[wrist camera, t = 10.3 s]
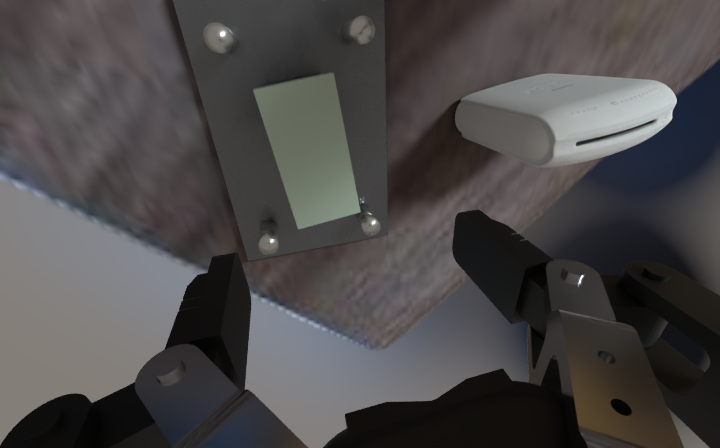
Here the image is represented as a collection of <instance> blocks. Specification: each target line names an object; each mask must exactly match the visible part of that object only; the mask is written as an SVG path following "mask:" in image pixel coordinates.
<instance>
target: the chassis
mask: <svg viewBox="0 0 720 448" xmlns="http://www.w3.org/2000/svg"><path fill="white" fill-rule="evenodd" d="M173 3H174V7H175V10H176V14H177V17H178V21H179V24H180V27H181V31H182V34H183V38H184V41H185V45H186V48H187V52H188V55H189V59H190V62H191V65H192V69H193V72H194V76H195V79H196V83H197V86H198V90H199V93H200V96H201V100H202V103H203V107H204V110H205V114H206V117H207V121H208V124H209V128H210V131H211V134H212V138H213V141H214V145H215V148H216V152H217V155H218V159H219V162H220V165H221V169H222V172H223V176H224V179H225V183H226V186H227V190H228V193H229V197H230V200H231V203H232V207H233V210H234V214H235V217H236V221H237V224H238V228H239V231H240V234H241V238H242V241H243V245H244V248H245V252H246V255H247V259H248V261H252V260H257V259H262V258H268V257H273V256H278V255H284V254H289V253H294V252H300V251H305V250H310V249H316V248H321V247H326V246H332V245H337V244H342V243H348V242H353V241H358V240H364V239H369V238H374V237H380V236H385V235H388V197H387V131H386V65H385V0H173ZM329 72H332V73H334V77H335V82H336V87H337V92H338V98H339V103H340V108H341V113H342V118H343V123H344V129H345V134H346V139H347V144H348V149H349V154H350V160H351V165H352V170H353V175H354V180H355V185H356V191H357V196H358V201H359V206H360V211H361V212H360V213H356V214H353V215H349V216H345V217H342V218H338V219H335V220H331V221H327V222H324V223H320V224H317V225H313V226H309V227H306V228H302V229H299V230H298V228H297V225H296V221H295V218H294V215H293V212H292V209H291V206H290V203H289V200H288V197H287V194H286V191H285V187H284V184H283V181H282V178H281V175H280V172H279V169H278V166H277V163H276V160H275V157H274V153H273V150H272V147H271V144H270V141H269V138H268V135H267V132H266V129H265V126H264V123H263V119H262V116H261V113H260V110H259V107H258V104H257V101H256V98H255V95H254V92H253V89H254V88H258V87H262V86H266V85H271V84H276V83H280V82H285V81H290V80H294V79H299V78H304V77H308V76H313V75H318V74H323V73H324V74H325V73H329Z"/></svg>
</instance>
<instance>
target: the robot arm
mask: <svg viewBox="0 0 720 448" xmlns="http://www.w3.org/2000/svg"><path fill="white" fill-rule="evenodd" d="M452 250H453V255H454V258H455V260H456V262H457V263H458V264H459V266H460V267H461V268H462V269H463V270H464V271H465V272H466V274H467V275H468V276H469V277H470V278H471V279H472V280H473V281H474V283H475V284H476V285H477V286H478V287H479V288H480V289H481V291H482V292H483V293H484V294H485V295H486V296H487V297H488V298H489V300H490V301H491V302H492V303H493V304H494V305H495V306H496V308H497V309H498V310H499V311H500V312H501V313H502V314H503V316H504V317H505V318H506V319H507V320H508V321H509V322H510V323H511V324H514V323H518V322H522V321H527V322H528V324H529V326H528V329H527V347H528V373H529V381H528V383H527V382H519V381H512V380H511V379H510V378H509V376H508V375H507V374H506V372H505V371H504V370H503V369H499V370H496V371H492V372H489V373H485V374H482V375H478V376H475V377H471V378H468V379H466V380H464V381H463V382H461V383H460V384H458V385H457V386H455V387H454V388H452V389H451V390H449V391H448V392H446V393H445V394H443V395H441V396H440V397H438V398H437V399H435V400H432V401H415V402H385V403H382V404H378V405H375V406H371V407H368V408H365V409H361V410H357V411H354V412H350V413H347V414H345V419H346V425H347V428H346V429H345V430H343V431H342V432H340V433H339V434H337V435H336V436H335V437H334V438H333V439H331V440H330V441H329V442H328V443H327V444H326V445H325V446H324V447H323V448H684V447H683V444H682V442H681V439H680V437H679V434H678V432H677V430H676V427H675V424H674V422H673V420H672V417H671V415H670V413H669V410H668V408H669V409H670V410H671V411H672V412H673V413H674V414H675V415H676V416H677V417H678V418H679V419H680V420H682V421H683V422H684V423H685V424H686V425H687V426H688V427H689V428H690V429H691V430H692V431H693V432H694V433H695V434H696V435H697V436H698V437H699V438H700V439H701V440H702V441H703V442H705V443H706V444H707V445H708V446H709V447H710V448H720V296H719V295H718V294H716V293H714V292H712V291H710V290H709V289H707V288H705V287H704V286H702V285H700V284H698V283H696V282H695V281H693V280H691V279H690V278H688V277H686V276H685V275H683V274H681V273H679V272H677V271H676V270H674V269H672V268H670V267H667V266H664V265H662V264H658V263H654V262H650V261H641V260H640V261H638V260H637V261H631V262H629V263H627V264H626V266H625V268H624V270H623V273H622V275H599V274H598V273H597V272H596V271H595V270H593V269H592V268H590V267H589V266H586V265H584V264H582V263H579V262H576V261H571V260H562V259H560V260H553V259H552V258H551V257H549V256H548V255H547V254H545V253H544V252H543V251H541V250H540V249H538V248H537V247H536V246H534V245H533V244H531V243H530V242H529V241H528V240H525V238H524V237H522V236H521V235H519V234H517V232H515V231H514V230H513V229H511V228H510V227H509V226H507V225H505V224H503V223H500V222H498V221H495V220H492V219H491V218H489V217H488V216H487V215H485V214H484V213H483V212H481V211H480V210H472V211H466V212H461V213H458V214H457V216H456V219H455V228H454V237H453V247H452ZM250 313H251V296H250V290H249V287H248V283H247V280H246V277H245V274H244V270H243V267H242V264H241V261H240V258H239V255H238V254H237V253H231V254H225V255H220V256H214V257H212V260H211V263H210V267H209V270H208V273H205V274H200V275H197V277H195V279H194V280H193V281H192V282H191V283H190V284H189V285H188V286H187V288H186V291H185V294H184V297H183V301H182V303H181V305H180V308H179V312H178V314H177V316H176V319H175V322H174V325H173V328H172V330H171V333H170V336H169V339H168V341H167V344H166V347H165V350H163V351H162V352H160V353H158V354H157V355H155V356H154V357H153V358H151V359H150V360H149V361H148V362H147V363H146V364H145V365H144V366H143V368H142V369H141V370H140V372H139V373H138V375H137V378H136V380H135V382H134V383H133V384H130V385H129V386H127V387H125V388H123V389H121V390H119V391H116V392H114V393H112V394H110V395H108V396H106V397H104V398H102V399H100V400H98V401H96V402H93V403H91V402H90V400H89V399H88V398H87V397H86V396H84V395H82V394H68V395H64V396H60V397H58V398H55V399H53V400H51V401H49V402H47V403H45V404H43V405H41V406H40V407H38V408H37V409H35V410H34V411H32V412H31V413H30V414H28V415H27V416H26V417H24V419H22V420H21V421H20V422H19V423H18V424H17V425H16V426H15V427H14V428H13V429H12V431H10V432H9V433H8V435H7V436H6V438H5V439H4V440H3V442H2V444H1V445H0V448H308V447H307V446H306V445H305V444H304V443H303V442H302V441H301V440H300V439H299V438H298V437H297V436H296V435H295V434H294V433H293V432H292V431H291V430H290V429H288V427H287V426H286V425H285V424H284V423H283V422H282V421H281V420H280V419H279V418H278V417H277V416H276V415H275V414H274V413H273V412H272V411H270V409H268V407H266V406H265V405H264V404H263V403H262V402H261V401H260V400H259V399H258V398H257V397H256V396H255V395H254V394H253V393H252V392H250V391H249V390H245V378H246V377H245V376H246V365H247V352H248V340H249V327H250ZM668 322H669V323H670V324H672V325H673V326H674V327H676V328H677V329H678V330H680V331H681V332H683V333H684V334H685V335H687V336H688V337H690V338H691V339H692V340H694V341H695V342H696V343H698V344H699V345H700V346H702V347H703V348H704V349H705V351H706V352H707V353H708V355H709V358H710V361H711V362H710V366H709V368H708V369H707V370H706V372H703V371H702V370H701V369H699V368H698V367H697V366H696V365H695V364H693V363H692V362H691V361H689V360H688V359H687V358H686V357H684V356H683V355H682V354H680V353H679V352H678V351H677V350H675V349H674V348H673V347H672V346H670V345H669V344H668V343H667V342H665V341H664V340H663V339H661V338H660V337H659V336H660V335H661V332H662V331H663V330H664V328H665V326H666V325H667V323H668ZM244 390H245V391H244Z"/></svg>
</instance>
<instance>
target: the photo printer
mask: <svg viewBox="0 0 720 448" xmlns="http://www.w3.org/2000/svg"><path fill="white" fill-rule="evenodd" d="M676 103H677V100H676V97H675V94H674V93H673V91H672V90H671V89H670V88H669V87H668V86H666V85H665V84H663V83H661V82H658V81H654V80H645V79H630V78H616V77H600V76H584V75H567V74H541V75H536V76H531V77H527V78H523V79H519V80H515V81H511V82H508V83H504V84H501V85H497V86H494V87H491V88H488V89H484V90H481V91H478V92H475V93H472V94H470V95H468V96H465V97H464V98H462V99H461V103H459V104H458V106H457V109H456V113H455V124H456V127H457V129H458V130H459V131H460V132H461V133H462V137H464V138H466V139H468V140H470V141H473V142H475V143H478V144H480V145H483V146H485V147H487V148H490V149H492V150H495V151H497V152H500V153H502V154H504V155H507V156H509V157H512V158H514V159H516V160H519V161H521V162H524V163H526V164H528V165H531V166H534V167H559V166H565V165H570V164H576V163H580V162H585V161H589V160H593V159H599V158H602V157H604V156H608V155H612V154H613V153H616V152H619V151H622V150H625V149H627V148H630V147H632V146H634V145H636V144H639V143H640V142H643V141H645V140H646V139H648V138H650V137H651V136H653V135H655V134H656V133H657V132H659V131H660V130H661V129H663V128H664V127H665V126H666V125H667V124H668V123H669V122H670V121H671V120H672V111H673V108H674V107H675V105H676Z"/></svg>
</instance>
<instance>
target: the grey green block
mask: <svg viewBox="0 0 720 448" xmlns="http://www.w3.org/2000/svg"><path fill="white" fill-rule="evenodd" d="M253 92H254V95H255V98H256V101H257V104H258V107H259V110H260V113H261V116H262V119H263V123H264V126H265V129H266V132H267V135H268V138H269V141H270V144H271V147H272V150H273V153H274V157H275V160H276V163H277V166H278V169H279V172H280V175H281V178H282V181H283V184H284V187H285V191H286V194H287V197H288V200H289V203H290V206H291V209H292V212H293V215H294V218H295V221H296V225H297V228H298V230H299V229H302V228H306V227H309V226H313V225H317V224H320V223H324V222H327V221H331V220H335V219H338V218H342V217H345V216H349V215H353V214H356V213H360V212H361V211H360V206H359V201H358V196H357V191H356V185H355V180H354V175H353V170H352V165H351V160H350V154H349V149H348V144H347V139H346V134H345V129H344V123H343V118H342V113H341V108H340V103H339V98H338V92H337V87H336V82H335V77H334V73H332V72H329V73H325V74H324V73H323V74H318V75H313V76H308V77H304V78H299V79H294V80H290V81H285V82H280V83H276V84H271V85H266V86H262V87H258V88H254V89H253Z"/></svg>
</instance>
